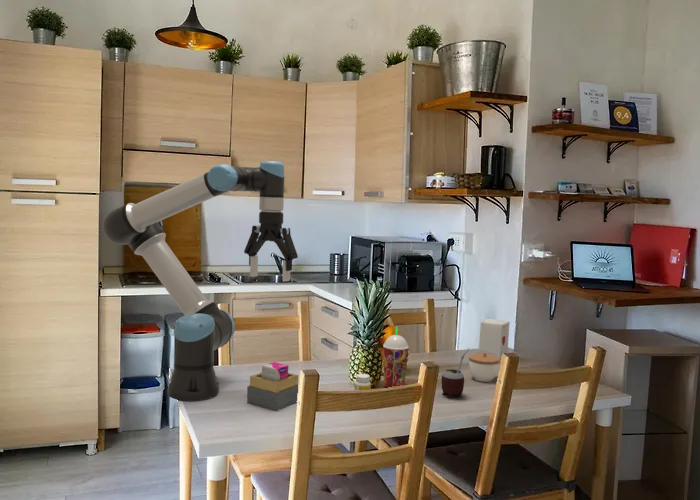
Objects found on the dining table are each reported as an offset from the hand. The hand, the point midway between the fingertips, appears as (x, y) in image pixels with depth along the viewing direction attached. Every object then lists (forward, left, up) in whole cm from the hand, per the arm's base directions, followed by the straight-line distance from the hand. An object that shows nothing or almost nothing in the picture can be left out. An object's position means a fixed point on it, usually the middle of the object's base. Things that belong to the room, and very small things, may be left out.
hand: (269, 278), depth 198 cm
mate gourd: (+51, +30, -35) cm, 69 cm away
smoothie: (+32, +26, -35) cm, 54 cm away
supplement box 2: (+45, +82, -35) cm, 100 cm away
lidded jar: (+52, +53, -35) cm, 83 cm away
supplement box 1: (+12, -11, -35) cm, 38 cm away
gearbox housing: (+11, -10, -35) cm, 38 cm away
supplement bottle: (+32, +6, -35) cm, 48 cm away
